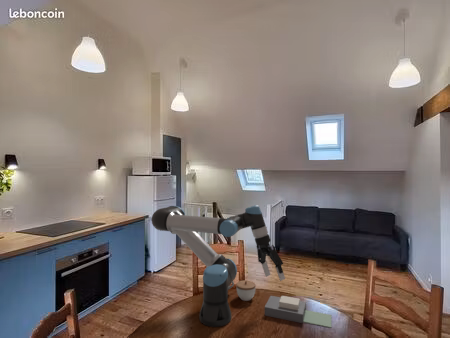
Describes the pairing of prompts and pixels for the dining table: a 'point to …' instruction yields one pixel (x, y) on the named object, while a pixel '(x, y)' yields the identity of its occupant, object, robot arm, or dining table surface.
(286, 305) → the tile
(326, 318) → the mat
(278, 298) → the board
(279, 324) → the dining table surface
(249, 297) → the lidded jar
